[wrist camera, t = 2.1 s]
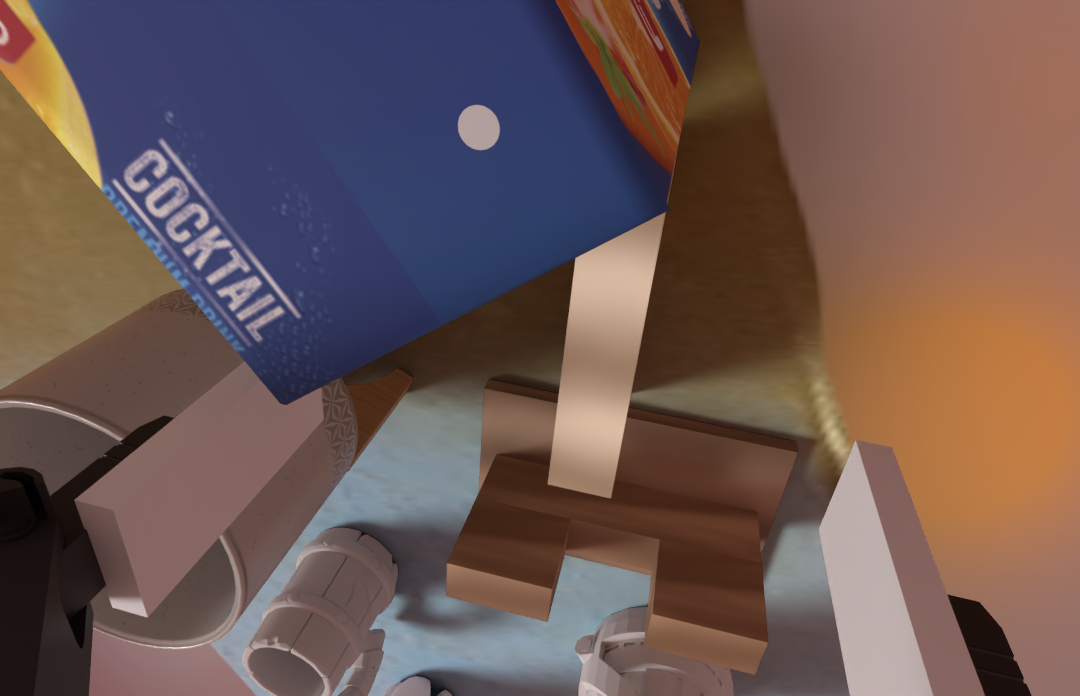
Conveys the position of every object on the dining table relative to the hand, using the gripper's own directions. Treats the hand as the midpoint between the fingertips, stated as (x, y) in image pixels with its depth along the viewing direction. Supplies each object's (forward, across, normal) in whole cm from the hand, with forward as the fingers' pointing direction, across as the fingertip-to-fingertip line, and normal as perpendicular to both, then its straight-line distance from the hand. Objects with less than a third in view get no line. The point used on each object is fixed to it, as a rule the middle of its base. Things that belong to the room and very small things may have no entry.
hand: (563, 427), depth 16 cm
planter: (+20, -18, -11) cm, 29 cm away
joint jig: (+20, +2, -18) cm, 27 cm away
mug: (+20, -16, -33) cm, 42 cm away
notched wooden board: (+19, 0, -4) cm, 20 cm away
